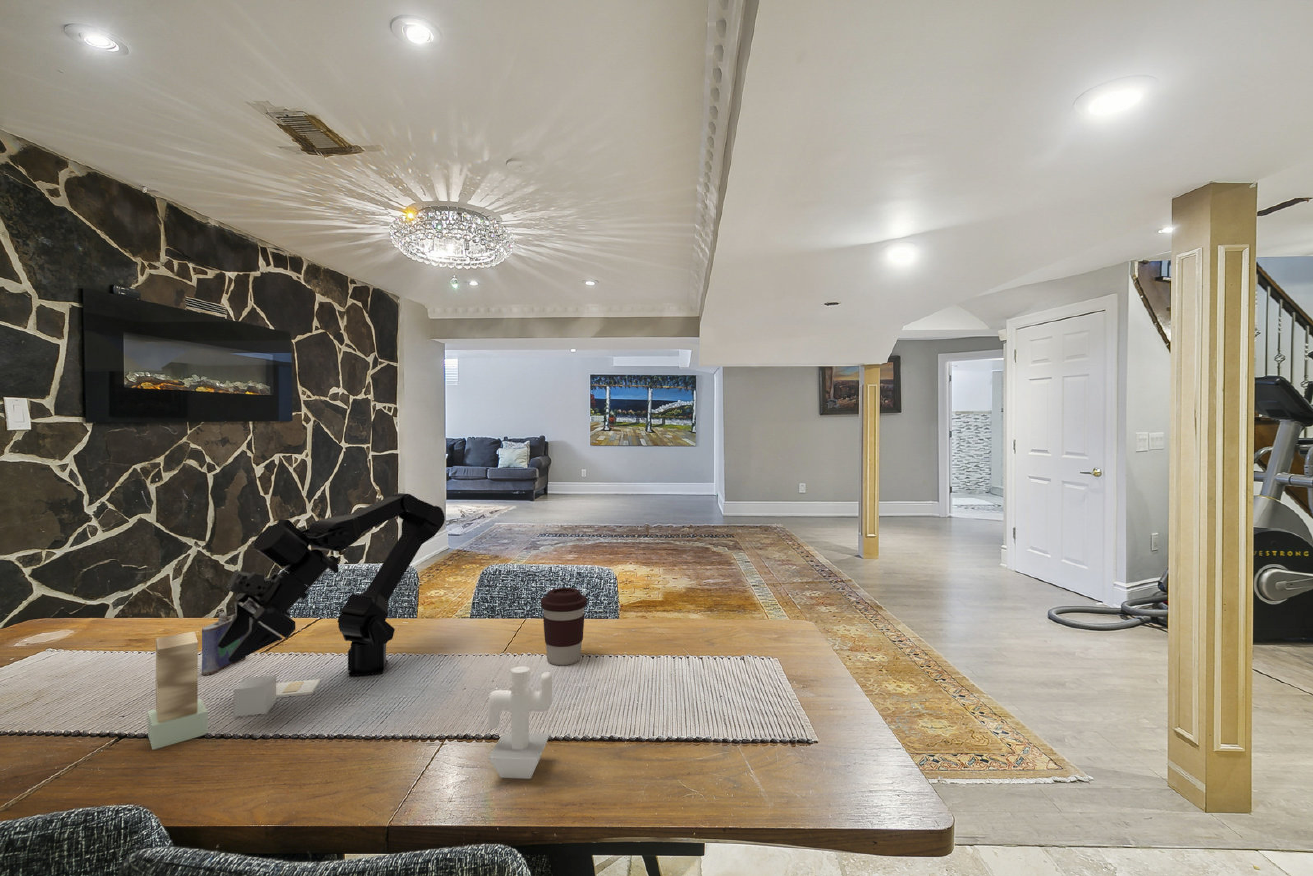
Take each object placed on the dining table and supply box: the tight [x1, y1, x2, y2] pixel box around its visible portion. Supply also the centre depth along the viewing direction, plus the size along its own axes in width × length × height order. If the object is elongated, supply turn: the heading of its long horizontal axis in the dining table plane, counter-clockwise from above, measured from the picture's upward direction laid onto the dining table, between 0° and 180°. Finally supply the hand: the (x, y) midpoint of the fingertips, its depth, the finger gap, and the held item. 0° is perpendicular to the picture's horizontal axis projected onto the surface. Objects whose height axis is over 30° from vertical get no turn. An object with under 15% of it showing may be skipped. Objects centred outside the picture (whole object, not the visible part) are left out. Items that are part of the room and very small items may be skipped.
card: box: [276, 678, 322, 699], centre depth 115 cm, size 8×6×1 cm
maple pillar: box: [155, 631, 199, 723], centre depth 97 cm, size 5×5×12 cm
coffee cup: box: [540, 587, 588, 666], centre depth 130 cm, size 10×10×15 cm
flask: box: [201, 611, 247, 676], centre depth 127 cm, size 10×3×12 cm, turn 172°
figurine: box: [487, 665, 553, 780], centre depth 88 cm, size 7×9×15 cm
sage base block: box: [146, 697, 209, 750], centre depth 98 cm, size 7×7×4 cm
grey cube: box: [233, 674, 277, 718], centre depth 107 cm, size 5×5×5 cm
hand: (224, 654), depth 103 cm, fingers open, 9 cm apart
